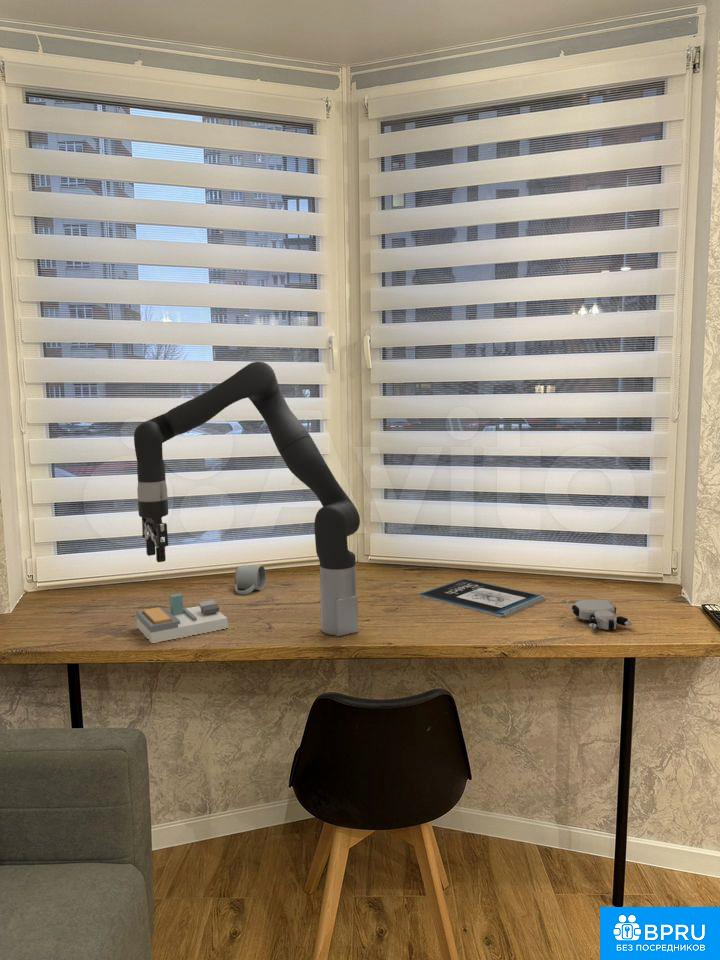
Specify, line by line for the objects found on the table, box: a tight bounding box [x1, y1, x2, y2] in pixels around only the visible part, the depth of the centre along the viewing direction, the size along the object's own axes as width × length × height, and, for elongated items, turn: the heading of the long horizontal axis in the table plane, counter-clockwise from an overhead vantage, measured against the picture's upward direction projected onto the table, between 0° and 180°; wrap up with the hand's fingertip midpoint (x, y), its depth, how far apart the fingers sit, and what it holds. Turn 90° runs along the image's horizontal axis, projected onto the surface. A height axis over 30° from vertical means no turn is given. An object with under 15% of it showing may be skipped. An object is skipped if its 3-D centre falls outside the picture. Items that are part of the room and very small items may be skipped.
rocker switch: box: [198, 599, 220, 614], centre depth 196 cm, size 5×4×2 cm
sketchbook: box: [418, 578, 546, 618], centre depth 214 cm, size 22×30×2 cm
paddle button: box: [142, 606, 171, 625], centre depth 189 cm, size 11×4×2 cm, turn 31°
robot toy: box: [566, 598, 633, 631], centre depth 191 cm, size 12×4×15 cm
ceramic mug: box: [233, 564, 267, 596], centre depth 226 cm, size 11×8×8 cm
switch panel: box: [136, 605, 229, 644], centre depth 192 cm, size 14×20×5 cm
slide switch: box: [169, 593, 184, 615], centre depth 195 cm, size 2×3×5 cm
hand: (156, 558), depth 193 cm, fingers open, 8 cm apart
